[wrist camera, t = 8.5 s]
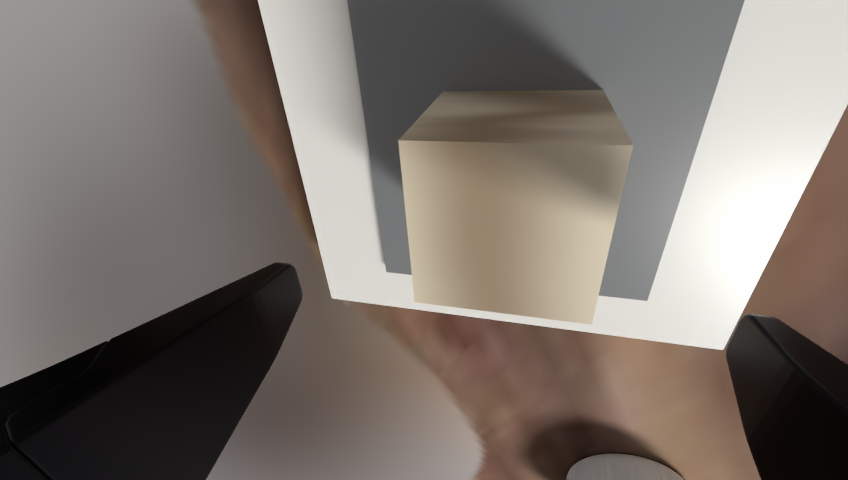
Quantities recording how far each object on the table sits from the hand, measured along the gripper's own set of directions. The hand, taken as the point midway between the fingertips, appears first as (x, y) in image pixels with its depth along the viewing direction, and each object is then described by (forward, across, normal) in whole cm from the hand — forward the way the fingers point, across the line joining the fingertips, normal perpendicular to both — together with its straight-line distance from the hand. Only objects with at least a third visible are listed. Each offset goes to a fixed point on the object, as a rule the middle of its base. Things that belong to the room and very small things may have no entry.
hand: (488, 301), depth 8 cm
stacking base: (+10, 0, 0) cm, 10 cm away
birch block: (+7, 0, 0) cm, 7 cm away
